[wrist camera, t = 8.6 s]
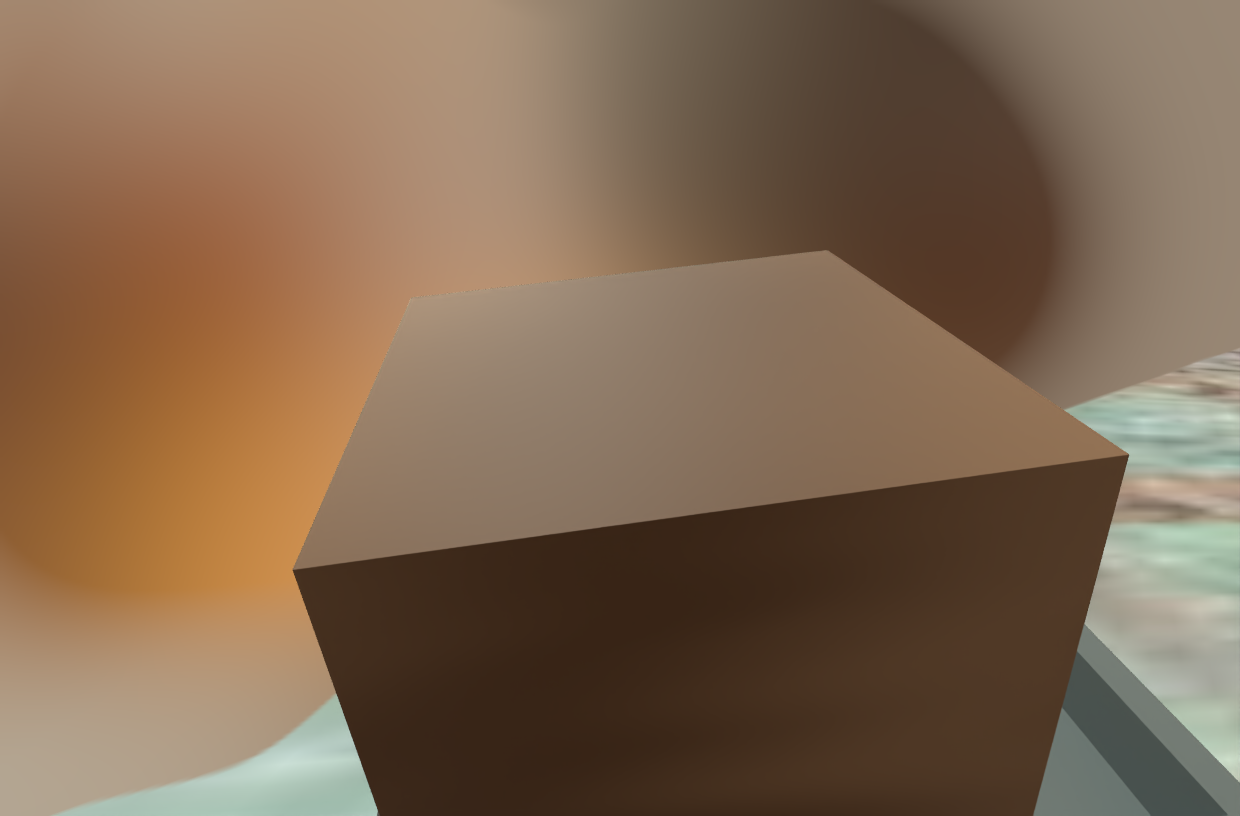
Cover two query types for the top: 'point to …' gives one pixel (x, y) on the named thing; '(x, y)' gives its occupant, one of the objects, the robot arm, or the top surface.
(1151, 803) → the slate tray
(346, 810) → the top surface
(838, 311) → the walnut block
